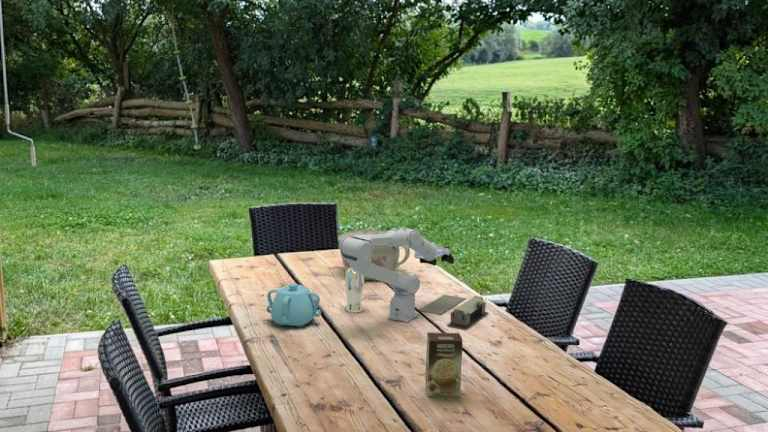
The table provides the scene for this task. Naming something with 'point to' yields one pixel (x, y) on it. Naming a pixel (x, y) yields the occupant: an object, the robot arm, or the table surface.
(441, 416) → the table surface
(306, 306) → the decorative pot
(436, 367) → the coffee box
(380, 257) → the chamber pot
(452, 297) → the pad
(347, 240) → the robot arm
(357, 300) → the beer glass
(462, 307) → the rail
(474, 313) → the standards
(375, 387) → the table surface
